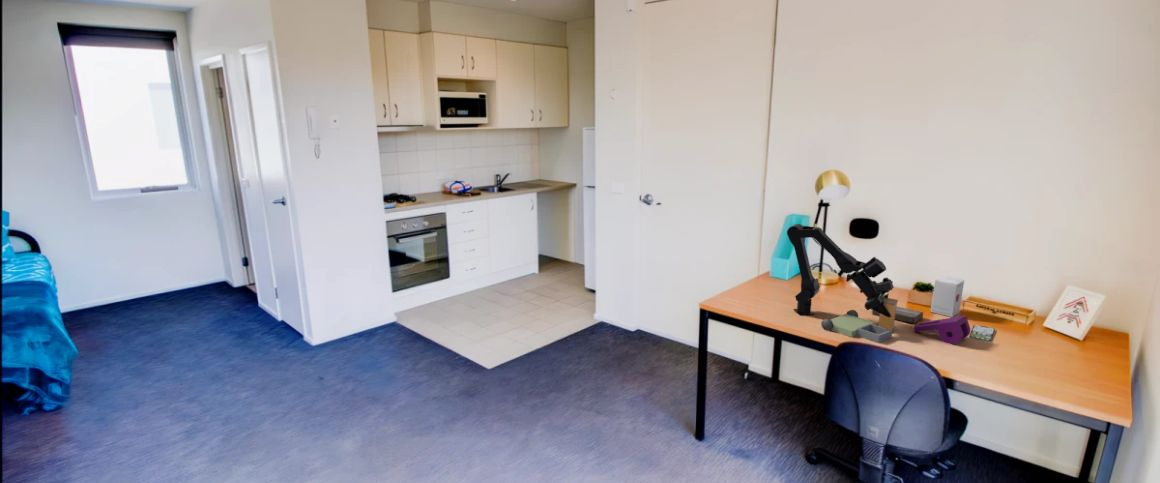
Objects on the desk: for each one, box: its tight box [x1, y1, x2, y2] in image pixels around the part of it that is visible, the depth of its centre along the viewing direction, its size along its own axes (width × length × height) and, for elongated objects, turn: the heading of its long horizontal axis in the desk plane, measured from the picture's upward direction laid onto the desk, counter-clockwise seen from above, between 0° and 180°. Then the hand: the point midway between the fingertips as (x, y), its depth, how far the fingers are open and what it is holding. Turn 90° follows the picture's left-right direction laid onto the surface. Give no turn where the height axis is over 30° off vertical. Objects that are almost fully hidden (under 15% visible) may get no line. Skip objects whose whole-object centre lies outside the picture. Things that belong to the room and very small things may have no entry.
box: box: [871, 306, 924, 324], centre depth 263 cm, size 11×17×3 cm, turn 42°
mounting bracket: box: [913, 315, 971, 345], centre depth 242 cm, size 9×8×18 cm
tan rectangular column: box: [877, 297, 899, 334], centre depth 248 cm, size 6×6×12 cm
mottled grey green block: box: [968, 324, 996, 343], centre depth 244 cm, size 7×1×15 cm
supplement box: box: [930, 275, 965, 318], centre depth 266 cm, size 9×9×15 cm
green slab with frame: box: [820, 309, 893, 344], centre depth 247 cm, size 22×19×4 cm
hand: (891, 314), depth 247 cm, fingers closed on tan rectangular column, 5 cm apart
